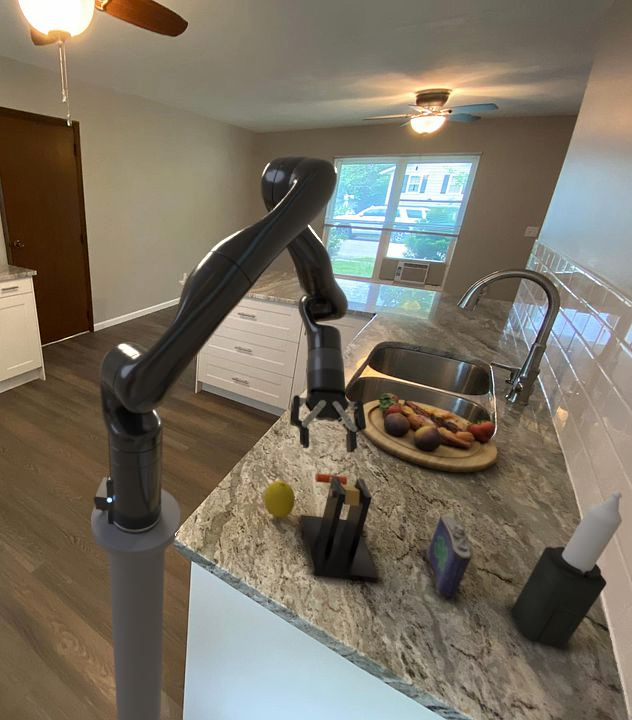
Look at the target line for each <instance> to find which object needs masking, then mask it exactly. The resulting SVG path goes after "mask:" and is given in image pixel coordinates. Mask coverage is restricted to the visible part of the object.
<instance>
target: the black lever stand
mask: <svg viewBox="0 0 632 720" xmlns="http://www.w3.org/2000/svg"><path fill="white" fill-rule="evenodd" d="M365 482H366V481H365V480H364V479H363V478H356V481H355V485H354V487H355V488H356V489H358V490H359V491H360V493H359V506H355V505H349V507H348V511H347V515H346V519H344V518H341V513H342V510H343V506H344V499H345V493H344V490H343V488H342V485H341V483H340V480H339V478H338V477H336V476H332V480H331V484H330V483H329V489H328V493H327V497H326V502H325V506H324V511H323V515H322V516H316V515H307V514H300V515H301V516H300V525H301V528H302V532H303V536H304V541H305V545H306V549H307V554H308V558H309V559H308V560H309V562H310V567H311V571H312V575H313V576H318V577H325V578H333V579H342V580H349V581H358V582H364V583H373V584H378V581H379V575H378V573H377V571H376V568H375V565H374V563H373V561H372V558H371V556H370V553H369V550H368V548H367V546H366V542H365V540H364V538H363V535H362V534H363V531H364V527H365V523H366V519H367V516H368V513H369V509H370V507H371V503H372V498H373V497H372V495H371V492H370V490H369V489H368V486H367V485H366V483H365Z"/></svg>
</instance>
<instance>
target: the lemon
mask: <svg viewBox="0 0 632 720" xmlns="http://www.w3.org/2000/svg"><path fill="white" fill-rule="evenodd" d="M263 500H264V507H265V509H266V510H267V512H268V513H269V514H270V515H272V516H273V517H276V518H285V517H287V516H288V515H290V514H291V513H292V511H293V509H294V506H295V492H294V489H293V488H292V486H291V485H290V484H289V483H288V482H286V481H283V480H275V481H273V482H271V483H270V484H269V485H268V486H267V488H266V489H265V493H264V496H263Z"/></svg>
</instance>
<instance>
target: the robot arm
mask: <svg viewBox="0 0 632 720" xmlns="http://www.w3.org/2000/svg"><path fill="white" fill-rule="evenodd" d="M337 182H338V171H337V168H336V166H335V164H333V162H331V161H330V160H328V159H326V158H322V157H318V156H306V155H305V156H303V155H289V154H288V155H279V156H276V157H274V158H272V160H269V162H268V163H267V165H266V166H265V168H264V169H263V172H262V174H261V179H260V197H261V199H262V202H263V205H264V207H265V209H266V211H267V214H266V215H265V216H263V217H262V218H260V219H258V220H257V221H255V222H253V223H251V224H249V225H247V226H245V227H243V228H242V229H240V230H237V231H236V232H234V233H232V234H230V235H228V236H227V237H225V238H223V239H221V240H220V241H218V242H217V243H216V244H214V245H213V246H212V247H211V248H210V249H209V251H208V252H207V253H206V254H205V255H204V256H203V258H201V259H200V261H199V262H198V263H197V264H196V265H195V267H194V268H193V269H192V270H191V272H190V273H189V274H188V276H187V278H186V280H185V281H184V285H183V288H182V290H181V293H180V297H179V302H178V304H177V309H176V311H175V314H174V316H173V318H172V321H171V322H170V324H169V326H168V327H167V329H166V330H165V331H164V332H163V333H162V334H161V336H159V338H158V339H157V341H156V342H155V343H154V344H153V345H152V346H151V347H150V348H149V349H148V348H146V347H145V346H143V345H141V344H139V343H136V342H133V341H126V342H125V341H123V342H120V343H118V344H115V345H114V346H112V347H111V348H110V349H109V350H108V351H107V352H106V353H105V354H104V356H103V358H102V361H101V364H100V367H99V394H100V403H101V413H102V419H103V423H104V426H105V430H106V432H107V447H108V449H107V450H108V470H109V474H108V476H107V477H105V476H104V477H103V478H102V480H101V481H100V485H99V487H98V489H97V491H96V494H94V497H93V502H94V505H96V509H97V510H101V511H102V512H103V511H105V510H106V511H108V524H113V525H114V526H115V527H116V528H117V529H119V530H120V531H122V532H125V533H129V534H140V533H144V532H147V531H149V530H151V529H153V528H154V527H155V526H156V525H157V524H158V523H159V521H160V519H161V515H162V509H161V491H162V489H163V488H162V487H163V482H162V481H163V435H164V434H163V432H164V430H163V429H164V427H163V421H162V419H161V417H160V415H159V414H158V412H157V409H158V408H159V407H160V406H161V405H163V404H164V403H165V402H166V401H167V399H168V398H169V397H170V396H171V395H172V393H173V392H174V391H175V389H176V387H177V386H178V385H179V383H180V382H181V380H182V379H183V377H184V376H185V374H186V373H187V371H188V370H189V368H190V367H191V365H192V364H193V362H194V360H195V359H196V358H197V357H198V355H199V354H200V352H201V351H202V350H203V348H204V347H205V346H206V345H207V343H208V342H209V340H210V339H211V338H212V337H213V335H214V334H215V333H216V332H217V330H218V329H219V327H220V326H221V325H222V324H223V323H224V322H225V320H226V319H227V318H228V316H229V315H230V314H231V313H233V311H234V310H235V309H236V308H237V307H238V305H240V303H241V302H242V301H243V299H244V298H245V297H246V296H247V295H248V294H249V292H250V291H251V290H252V288H253V287H254V286H255V285H256V284H257V282H258V281H259V279H260V278H261V277H262V276H263V275H264V274H265V272H267V270H268V269H269V268H270V267H271V265H272V264H273V263H274V262H275V261H276V260H277V259H278V257H279V256H280V255H281V254H282V253H283V252H284V251H285V249H287V251H288V254H289V256H290V258H291V261H292V264H293V267H294V270H295V274H296V277H297V281H298V284H299V287H300V291H301V292H302V294H303V295H301V297H300V298H299V300H298V303H297V310H298V314H299V316H300V319H301V321H302V324H303V326H304V330H305V335H306V352H307V357H306V365H305V366H306V368H305V373H306V397H300V396H299V395H298V394H295V395H294V396H293V397H292V399H291V400H290V401H291V402H290V404H291V405H290V419H289V424H290V426H291V427H296V428H298V430H299V444H300V445H301V446H302V448H303V449H308V448H310V428H309V425H310V424H311V423H312V422H313V420H314V419H316V420H317V421H327V422H335V421H336V422H337V424H339V426H341V427H342V428H343V429H344V431H345V432H346V433H345V443H346V452H347V453H349V454H352V453H354V452H355V450H357V448H358V441H357V433H362V432H361V431H362V430H364V429H366V421H365V414H364V407H363V405H364V402H363V401H362V400H360V399H359V400H356V401H348V399H347V397H346V375H345V363H344V358H343V349H342V335H341V331H340V330H339V328H337V327H336V326H333V325H327V324H320V323H323V322H324V323H325V322H331V321H338V320H342V319H343V318H344V317H345V316H346V314H347V313H348V311H349V301H348V298H347V295H346V294H345V292H344V290H343V289H342V288H341V286H340V285H339V283H338V282H337V280H336V278H335V275H334V269H333V265H332V264H333V263H332V260H331V256H330V253H329V252H328V249H327V247H326V246H325V245H324V243H323V241H321V239H320V238H319V237H318V234H316V232H315V231H314V230H313V229H312V227H311V226H310V225H311V224H312V223H313V222H314V221H315V220H316V219H317V218H318V217H319V216H320V215H321V213H323V211H324V210H325V209H326V207H327V206H328V205H329V202H330V201H331V200H332V197H333V195H334V193H335V191H336V187H337ZM303 405H305V407H306V408H307V409H308V411H309V413H308V414H307V416H306V417H305V418H304V419H303V420H301V419H300V409H301V408H302V407H303ZM348 408H349V410H350V412H351V413H352V414H353V419H354V420H353V421H354V422H353V421H352V419H351V417H350V416H349V414H348V413H347V412H346V410H347V409H348Z"/></svg>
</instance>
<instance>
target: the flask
mask: <svg viewBox="0 0 632 720" xmlns="http://www.w3.org/2000/svg"><path fill="white" fill-rule="evenodd" d="M469 531H470V529H469V528H468V527H467V525H466V526H462V525H460V524H459V523H458V522H457V521H456V519H455V518H454V517H452V516H450V515H447V514H442V515H439V518H438V522H437V525H436V526H435V529H434V533H433V535H432V538H431V540H430V543H429V545H428V547H427V549H426V551H425V557H426V561H427V562H428V565H429V571H430V573H431V574H432V576H433V577H434V578H433V581H434V582H435V587H436V592H437V593H438V595H439V596H440V597H442V599H443V600H447V601H454V600H455V598H456V597H457V592H458V590H459V587H460V585H461V582H462V580H463V577H464V574H465V573H466V570H467V569H468V566H469V564H470V561H471V559H472V553H471V547H470V544H469V541H468V538H467V536H466V533H465V532H467V533H468V532H469Z"/></svg>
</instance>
